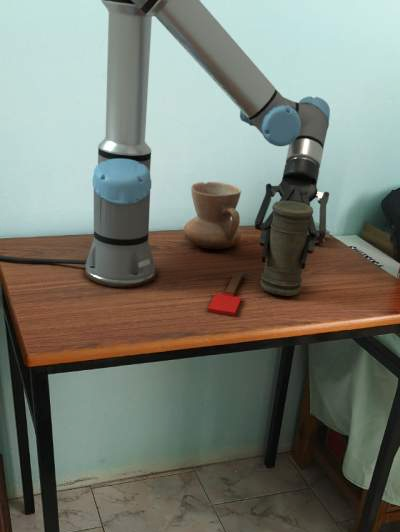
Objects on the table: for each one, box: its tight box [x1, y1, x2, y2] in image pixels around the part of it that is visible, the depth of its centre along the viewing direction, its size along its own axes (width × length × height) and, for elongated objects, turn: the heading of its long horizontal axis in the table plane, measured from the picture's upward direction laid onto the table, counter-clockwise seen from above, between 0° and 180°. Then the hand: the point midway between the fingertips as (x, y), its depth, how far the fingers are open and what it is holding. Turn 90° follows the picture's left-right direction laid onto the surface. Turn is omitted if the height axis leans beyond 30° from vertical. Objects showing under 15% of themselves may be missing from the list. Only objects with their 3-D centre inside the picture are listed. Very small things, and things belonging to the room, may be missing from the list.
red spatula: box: [207, 271, 244, 317], centre depth 144 cm, size 20×6×1 cm, turn 167°
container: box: [259, 200, 314, 297], centre depth 142 cm, size 9×9×18 cm
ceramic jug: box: [182, 181, 242, 250], centre depth 166 cm, size 18×14×14 cm
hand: (283, 262), depth 141 cm, fingers closed on container, 8 cm apart
